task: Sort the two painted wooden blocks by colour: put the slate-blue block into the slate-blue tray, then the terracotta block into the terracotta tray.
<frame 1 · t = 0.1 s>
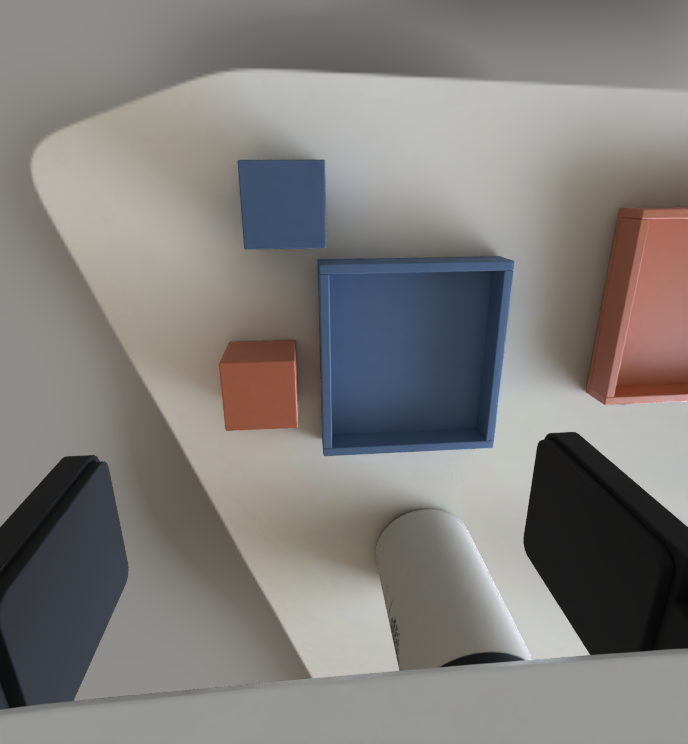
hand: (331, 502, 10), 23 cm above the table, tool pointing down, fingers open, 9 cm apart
blue tray: (406, 353, 34), on the table
terracotta tray: (682, 304, 35), on the table
travel mug: (421, 544, 40), on the table
blue block: (285, 204, 30), on the table
terracotta block: (264, 371, 33), on the table
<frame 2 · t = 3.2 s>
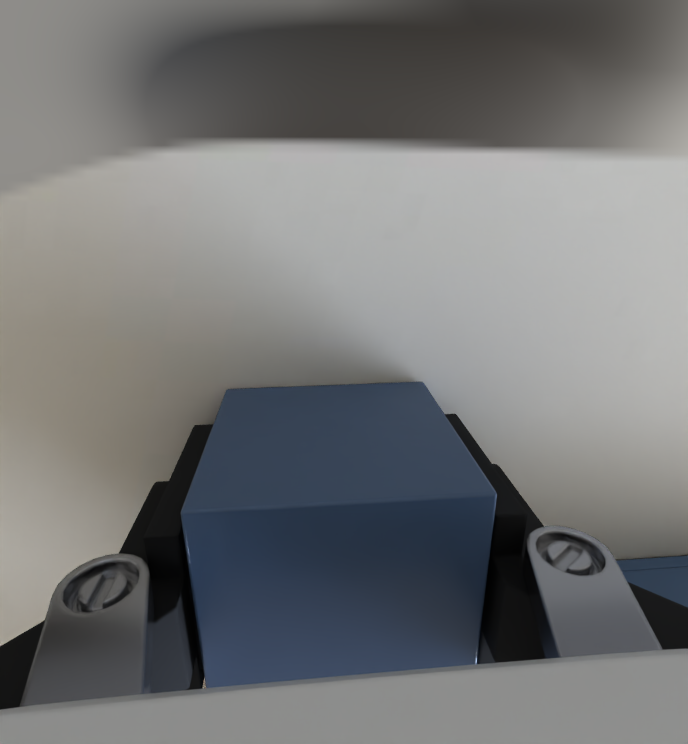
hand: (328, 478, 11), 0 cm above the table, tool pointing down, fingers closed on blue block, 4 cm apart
blue tray: (576, 721, 16), on the table
blue block: (327, 470, 12), on the table, touching gripper
when the fingers open (1 cm above the table, at t = 10.3 s): blue block stays where it is, resting on blue tray.
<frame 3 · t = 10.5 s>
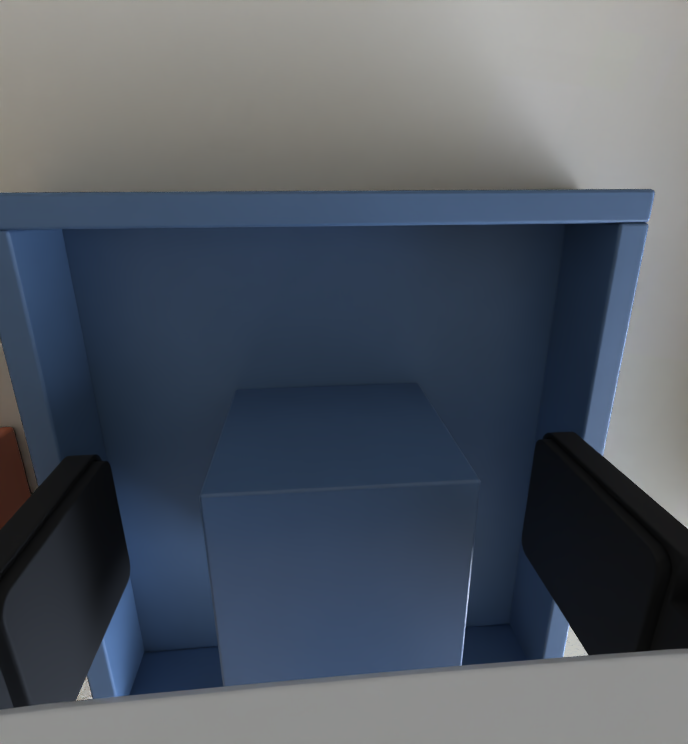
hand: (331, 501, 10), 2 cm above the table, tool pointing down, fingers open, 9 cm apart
blue tray: (328, 455, 13), on the table
blue block: (329, 465, 13), resting on blue tray
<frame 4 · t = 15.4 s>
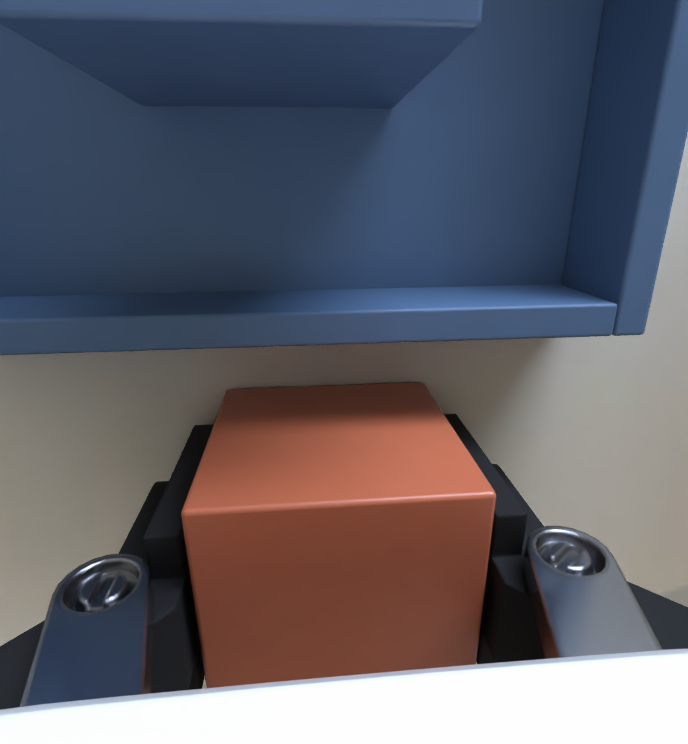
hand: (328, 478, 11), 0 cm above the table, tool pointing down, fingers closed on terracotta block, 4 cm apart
terracotta block: (327, 470, 12), on the table, touching gripper
when the fingers open (1 cm above the table, at t = 23.2 s): terracotta block stays where it is, resting on terracotta tray.
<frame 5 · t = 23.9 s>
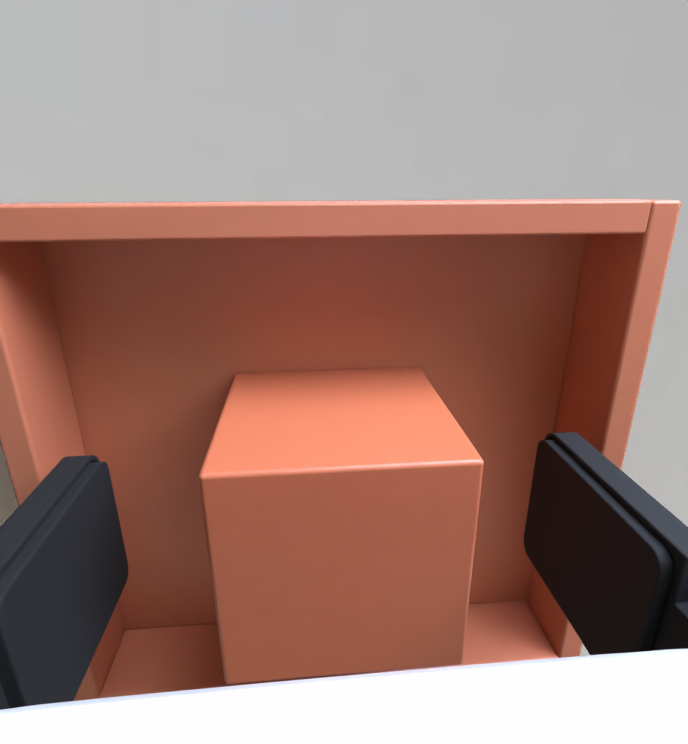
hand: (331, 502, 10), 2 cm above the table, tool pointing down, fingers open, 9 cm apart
terracotta tray: (328, 444, 13), on the table
terracotta block: (330, 450, 12), resting on terracotta tray
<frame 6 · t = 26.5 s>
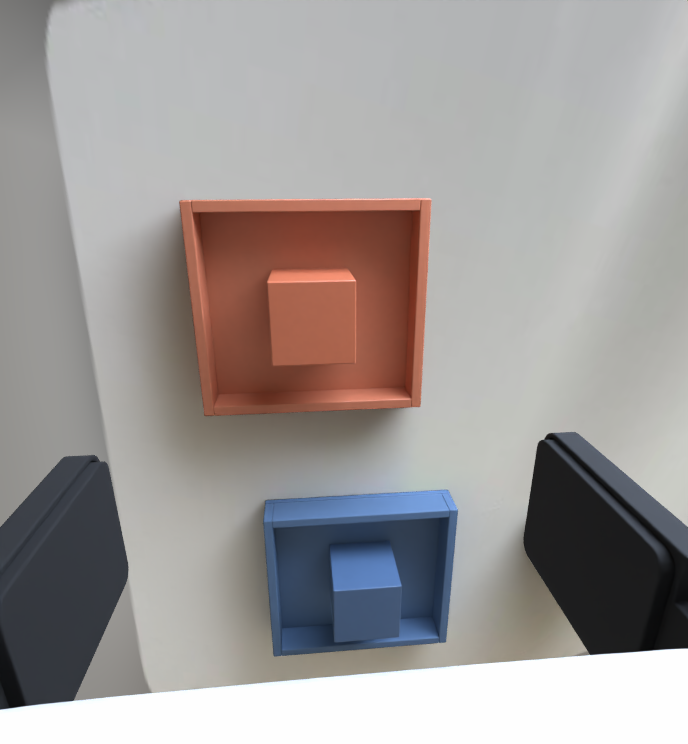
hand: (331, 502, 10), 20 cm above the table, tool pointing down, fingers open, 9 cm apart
blue tray: (357, 562, 37), on the table
terracotta tray: (310, 304, 29), on the table
blue block: (359, 566, 36), resting on blue tray
terracotta block: (311, 305, 29), resting on terracotta tray
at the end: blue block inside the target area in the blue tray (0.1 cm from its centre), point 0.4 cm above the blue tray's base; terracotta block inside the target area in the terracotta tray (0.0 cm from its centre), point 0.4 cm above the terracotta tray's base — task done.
